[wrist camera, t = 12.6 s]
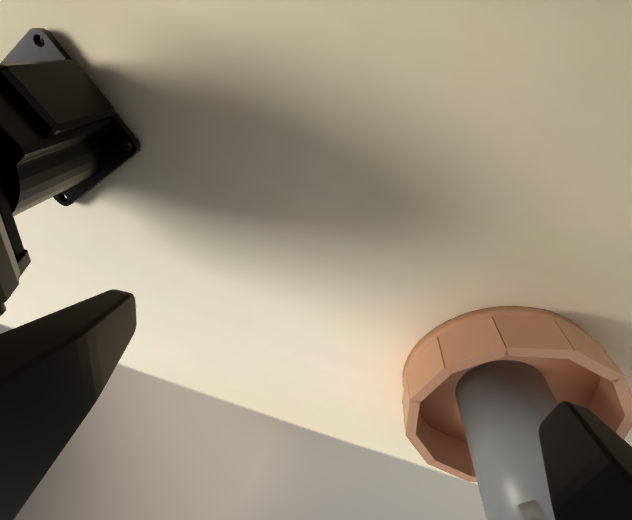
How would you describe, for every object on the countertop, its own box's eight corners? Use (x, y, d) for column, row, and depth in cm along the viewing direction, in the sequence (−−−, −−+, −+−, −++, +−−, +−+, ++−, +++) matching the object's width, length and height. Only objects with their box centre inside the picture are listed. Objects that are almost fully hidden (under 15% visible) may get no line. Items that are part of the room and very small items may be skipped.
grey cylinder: (453, 419, 26) (491, 579, 18) (456, 361, 23) (502, 521, 15) (540, 418, 25) (618, 588, 17) (553, 358, 22) (653, 527, 14)
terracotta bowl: (445, 451, 29) (454, 498, 26) (370, 348, 25) (371, 390, 22) (619, 409, 25) (654, 460, 22) (568, 275, 20) (603, 315, 17)
